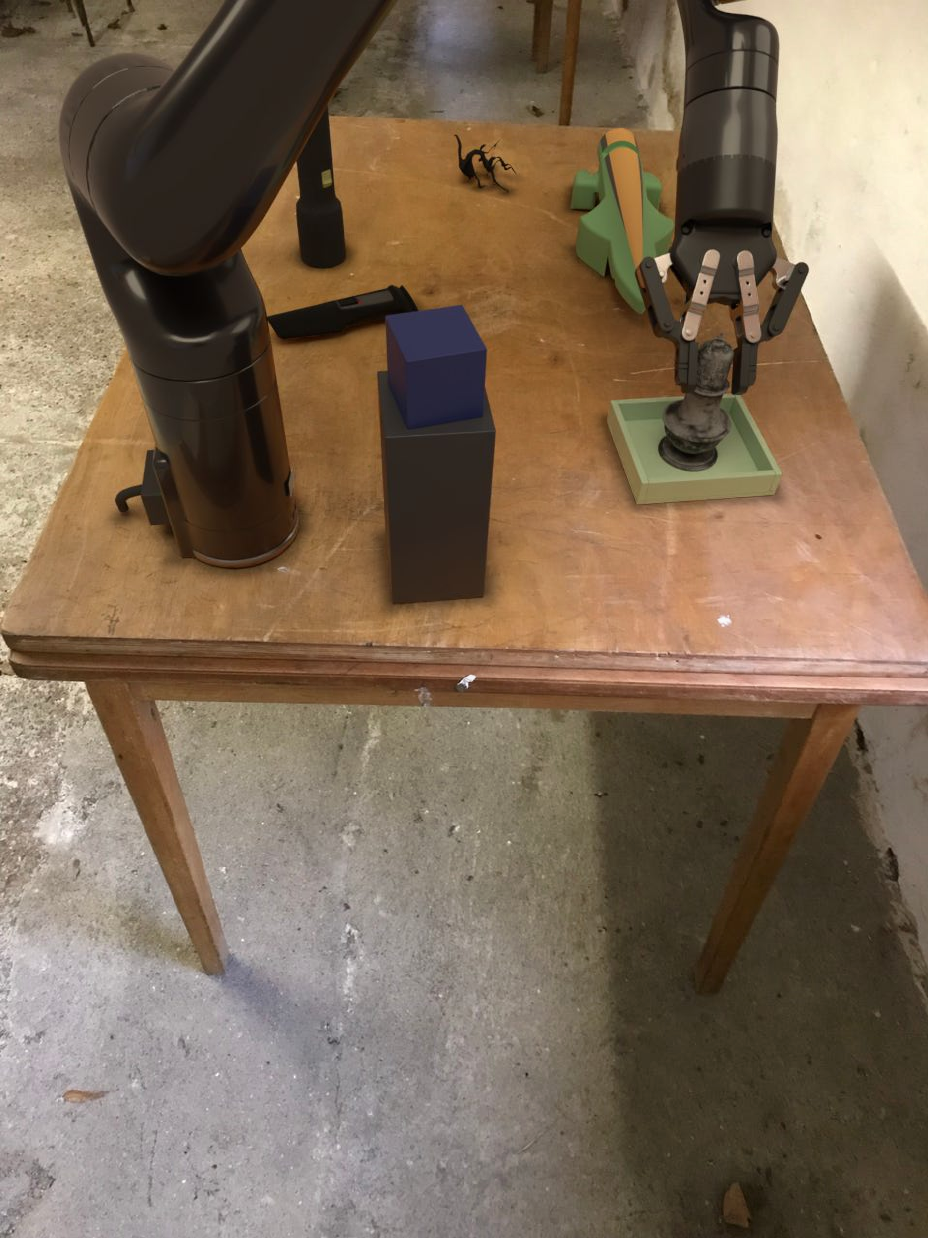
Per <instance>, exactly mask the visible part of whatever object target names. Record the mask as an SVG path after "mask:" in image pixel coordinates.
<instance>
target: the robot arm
mask: <svg viewBox="0 0 928 1238" xmlns="http://www.w3.org/2000/svg"><path fill="white" fill-rule="evenodd" d="M744 1H746V0H676V5H677V8H678V13H679V16H680V22H681V27H682V33H683V44H684V55H685V56H684V57H685V59H684V61H685V63H684V65H685V70H684V90H683V91H684V92H683V114H682V122H681V128H680V133H679V139H678V147H677V148H678V151H677V158H676V162H675V171H676V190H675V211H674V228H673V232H674V233H673V241H672V244H671V245H670V246H669V251H668V253H667V254H665V255H662V256H659V257H657V258H652V257H645V258H644V259H643V260H642V261H641V263H640V264H639V265H638V267H637V268H636V270H635V277H636V280H637V283H638V287H639V290H640V293H641V296H642V299H643V302H644V305H645V308H646V310H645V311H646V314H647V318H648V321H649V324H650V327H651V331H652V333H653V335H654V336H655V337H656V338H659V339H664V340H667V341H670V342H671V343H672V344H673V345H674V348H675V349H674V372H673V381H674V383H675V386H676V387H677V386H678V387H680V393H681V394H686V393H692V392H694V391H695V389H696V384H697V365H698V349H699V346H700V345H699V341H698V342H697V341H696V338H697V336H698V332H699V329H700V326H701V322H702V318H703V314H704V313H705V310H706V308H707V306H708V305H712V304H719V305H721V306H725V307H727V306H728V311H729V317H730V318H729V319H730V320H731V322H732V324H733V329H734V335H735V339H736V340H735V341H736V345H737V346H736V347H735V348H733V350H734V358H733V361H732V367H731V368H732V370H731V385H730V387H731V388H730V391H731V392H730V393H732V395H741V396H742V395H744V394H747V392H748V390H749V388H750V387H752V386H754V384H755V382H756V380H757V369H758V368H757V365H758V351H759V346H760V344H762V343H763V342H766V343H767V342H769V341H772V339H774V338H775V337H777V336H779V335H782V333H783V332H784V330H785V328H786V326H787V324H788V321H789V319H790V316H791V314H792V312H793V309H794V308H795V305H796V303H797V300H798V297H799V296H800V294H801V291H802V289H803V287H804V284H805V282H806V280H807V277H808V275H809V272H810V267H809V264H808V263H806V262H804V261H800V262H797V263H796V264H795V263H793V262H790V261H788V260H785V259H784V258H782V257H780V256H778V251H777V249H776V248H777V247H776V246H775V244H774V241H773V227H774V210H775V196H776V195H775V193H776V180H777V179H776V176H777V162H778V159H777V158H778V144H779V143H778V142H779V128H778V119H777V117H778V115H777V101H778V100H777V99H778V82H779V64H780V36H779V32H778V30H777V28H776V26H775V25H774V24H773V23H772V21H771V22H770V21H769V20H768V19H767V18H764V17H761V16H759V15H758V16H757V15H752V14H748V13H747V14H746V13H735V12H727V11H725V10H724V11H723V10H722V9H721V10H720V9H718V8H717V7H719V6H721V5H728V4H733V3H739V2H744ZM398 2H399V0H223V1H222V2H221V4H220V6H219V7H218V9H217V11H216V12H215V14H214V15H213V16H212V18H211V20H210V21H209V22H208V24H207V25H206V27H205V28H204V29H203V31H202V33H200V35H199V37H198V38H197V39H196V41H195V42H194V44H193V45H192V47H191V48H190V50H189V51H188V52H187V54H186V55H185V57H184V58H183V59H182V60H181V61H180V63H179V64H178V66H175V65H173V64H172V63H170V62H167V61H165V60H163V59H161V58H159V57H156V56H153V55H150V54H146V53H140V52H119V53H113V54H110V55H107V56H104V57H101V58H99V59H97V60H96V61H94V62H92V63H91V64H90V65H88V66H87V67H85V69H83V70H82V71H81V72H80V73H79V74H78V75H77V77H76V78H75V79H74V80H73V82H72V83H71V84H70V86H69V88H68V90H67V92H66V95H65V96H64V99H63V102H62V105H61V109H60V113H59V119H58V144H59V145H58V147H59V153H60V158H61V163H62V167H63V171H64V175H65V178H66V181H67V185H68V188H69V192H70V194H71V198H72V201H73V205H74V207H75V210H76V213H77V216H78V219H79V222H80V226H81V228H82V231H83V235H84V238H85V241H86V244H87V247H88V250H89V253H90V256H91V259H92V262H93V265H94V268H95V272H96V274H97V277H98V281H99V284H100V286H101V289H102V292H103V294H104V297H105V300H106V301H107V303H108V306H109V308H110V310H111V313H112V315H113V317H114V319H115V321H116V323H117V325H118V328H119V331H120V333H121V335H122V338H123V341H124V345H125V348H126V351H127V354H128V357H129V361H130V365H131V367H132V371H133V374H134V377H135V381H136V384H137V387H138V390H139V394H140V397H141V400H142V405H143V407H144V411H145V414H146V417H147V421H148V424H149V428H150V431H151V434H152V438H153V441H154V449H147V450H146V454H145V461H144V468H143V474H142V475H143V476H142V483H141V484H137V485H133V486H129V487H126V488H124V489H121V490H120V491H119V492H118V493H117V494H116V495H115V497H114V503H115V505H116V507H117V509H118V512H120V513H121V514H124V513H127V512H129V509H130V508H129V506H128V503H127V501H128V500H129V499H132V498H136V497H140V499H141V501H142V504H143V509H144V510H145V514H146V518H147V521H148V523H149V525H150V526H162V525H163V526H165V525H170V527H171V529H172V532H173V535H174V539H175V543H176V545H177V549H178V553H179V555H180V557H182V558H189V557H190V558H196V559H197V560H199V561H201V562H203V563H205V564H208V565H211V566H214V567H221V568H229V569H230V568H231V569H233V568H234V569H236V568H246V567H251V566H256V565H259V564H263V563H265V562H267V561H269V560H271V559H274V558H275V557H277V556H278V555H280V554H281V553H283V552H285V551H286V549H288V548H289V546H290V545H291V544H292V543H293V542H294V541H295V539H296V537H297V535H298V532H299V529H300V521H301V520H300V514H299V513H300V512H299V508H298V505H297V497H296V494H295V489H294V487H295V482H296V478H297V477H296V476H297V475H296V469H295V463H294V461H293V463H292V466H291V462H290V455H289V449H288V442H287V436H286V431H285V424H284V417H283V411H282V403H281V397H280V391H279V385H278V377H277V372H276V365H275V359H274V358H275V357H274V353H273V352H274V351H273V345H272V338H271V333H270V326H269V322H268V319H267V316H268V314H267V308H266V303H265V301H264V297H263V295H262V292H261V289H260V287H259V286H258V284H257V282H256V279H255V277H254V276H253V274H252V271H251V268H250V266H249V264H248V263H247V260H246V257H245V255H244V253H243V250H242V248H243V247H244V246H245V245H246V243H248V241H250V239H251V237H252V236H253V235H254V233H255V232H256V231H257V229H258V228H259V226H260V225H261V223H262V222H263V220H264V218H265V217H266V215H267V214H268V213H269V210H270V209H271V207H272V206H273V203H274V202H275V200H276V199H277V196H278V194H279V193H280V191H281V190H282V187H283V186H284V184H285V182H286V180H287V179H288V177H289V175H290V173H291V172H292V169H293V168H294V166H295V164H296V161H297V159H298V157H299V155H300V153H301V152H302V150H303V148H304V146H305V144H306V143H307V141H308V139H309V137H310V135H311V134H312V132H313V130H314V128H315V126H316V125H317V123H318V121H319V119H320V118H321V116H322V114H323V112H324V111H325V109H326V107H327V106H328V107H329V105H330V103H331V101H332V99H333V98H334V96H335V94H336V92H337V91H338V89H339V88H340V86H341V84H342V83H343V81H344V80H345V79H346V77H347V76H348V74H349V73H350V71H351V70H352V68H353V67H354V65H355V64H356V63H357V61H358V60H359V59H360V57H361V55H362V54H363V53H364V51H365V50H366V48H367V47H368V46H369V44H370V43H371V41H372V40H373V38H374V37H375V36H376V34H377V33H378V31H379V30H380V28H381V27H382V25H383V24H384V22H385V21H386V20H387V18H388V17H389V15H390V14H391V12H392V11H393V9H394V7H395V6H396V5H397V3H398ZM669 269H670V270H671V273H672V275H674V277H675V278H676V280H677V281H678V284H679V285H680V287H681V288H682V290H683V291H684V293H685V294H684V297H683V301H682V305H681V308H680V311H679V320H676V319H675V318H674V314H673V311H672V308H671V305H670V302H669V298H668V295H667V292H666V289H665V286H664V284H665V282H667V280H668V277H669V276H668V270H669ZM769 272H770V274H771V275H772V282H771V286H772V288H773V289H774V290H775V294H774V296H773V298H772V301H771V303H770V305H769V308H768V310H767V312H766V314H765V317H764V319H763V322H762V323H760V316H759V309H760V308H759V307H760V301H759V295H758V290H757V289H758V286H760V284H761V283H762V281H763V280H764V279H765V277H766V276H767V275H768V273H769Z"/></svg>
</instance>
